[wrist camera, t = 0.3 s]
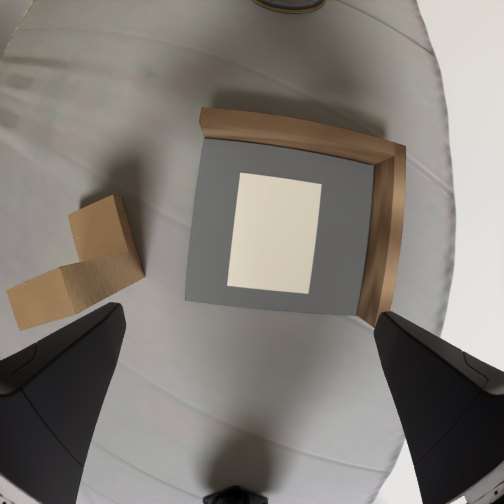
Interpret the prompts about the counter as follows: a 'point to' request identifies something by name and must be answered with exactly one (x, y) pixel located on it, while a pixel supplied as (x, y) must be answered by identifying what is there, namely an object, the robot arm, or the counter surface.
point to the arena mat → (278, 229)
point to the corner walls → (349, 147)
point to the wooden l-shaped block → (82, 267)
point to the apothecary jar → (291, 5)
